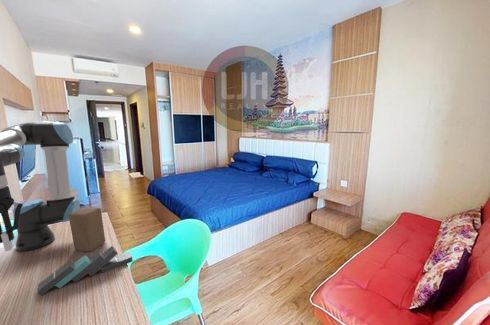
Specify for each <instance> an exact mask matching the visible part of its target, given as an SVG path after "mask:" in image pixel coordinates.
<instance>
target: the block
mask: <svg viewBox="0 0 490 325" xmlns="http://www.w3.org/2000/svg"><path fill="white" fill-rule="evenodd" d="M69 220H70V221H69V225H70V231H71V236H72V242H73V247H74V250H76V251H82V252H92V251H93V250H95V249H97V248H98V247H99V246H102V245H103V244H105V242H106V236H105V231H104V230H105V229H104V223H103V216H102V209H101V208H100V207H92V206H84V207H82V208H80V209H79V210H77V211H75V212H73V213H70V214H69Z"/></svg>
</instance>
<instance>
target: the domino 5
mask: <svg viewBox="0 0 490 325" xmlns="http://www.w3.org/2000/svg"><path fill="white" fill-rule="evenodd" d="M132 262H133V256H132V254H131V252H130V251H129V252H125V253H123V254H120V255H116V256H114V257H113V258H112V259H111V260H110V261H109V262H108V263H106V264H105V265H104V266H103V267H102V268H101V269H100V270H101V273H102V274H103V273H105V272H106V273H107V272H109V271H111V270H114V269H117V268H120V267H122V266H124V265H127V264H129V263H132Z"/></svg>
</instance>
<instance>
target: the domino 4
mask: <svg viewBox="0 0 490 325" xmlns="http://www.w3.org/2000/svg"><path fill="white" fill-rule="evenodd" d="M102 254H103V257H104V260H102V261H101V262H100V263H99V264H98V265H96V266H95V267H94V268H93V269H92V270H90V271H89V272H88V273H87V274H88V275H89V276H90V277H93V276H94V275H95V274H96V273H97V272H98V271H100V270H101V268H102V267H103V266H104V265H105V264H106V263H108V262H109V261H110V260H111V259H112V258H114V257H117V256H118V254H119V253H118V251H117V249H116V248H115V247H114V246H113V245H111V246H110V247H108V249H106V250H105V251H104V252H103V253H102Z"/></svg>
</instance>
